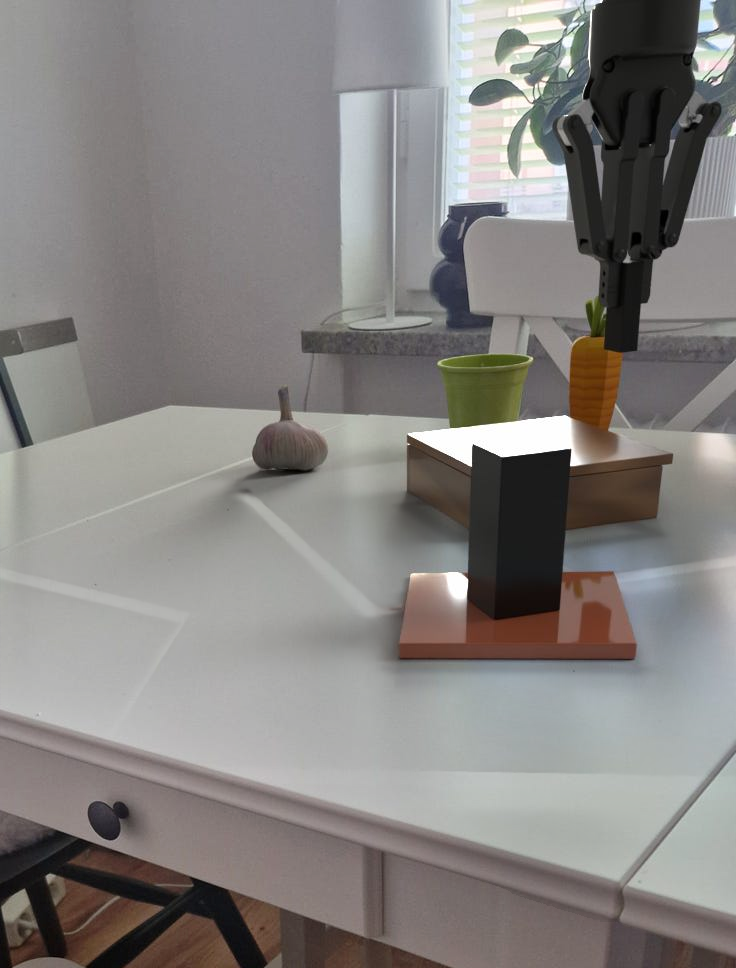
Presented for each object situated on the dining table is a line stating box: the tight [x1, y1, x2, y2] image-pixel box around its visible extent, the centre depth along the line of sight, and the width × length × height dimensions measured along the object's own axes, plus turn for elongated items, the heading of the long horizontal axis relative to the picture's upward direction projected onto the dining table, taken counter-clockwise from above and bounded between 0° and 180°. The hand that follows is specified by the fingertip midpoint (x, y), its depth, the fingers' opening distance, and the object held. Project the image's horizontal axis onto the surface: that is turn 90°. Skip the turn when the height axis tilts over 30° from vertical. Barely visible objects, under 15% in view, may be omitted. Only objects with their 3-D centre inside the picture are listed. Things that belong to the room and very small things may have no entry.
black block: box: [467, 435, 572, 620], centre depth 73 cm, size 4×4×10 cm
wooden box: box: [406, 443, 664, 531], centre depth 97 cm, size 14×18×5 cm
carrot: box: [568, 295, 624, 431], centre depth 108 cm, size 5×5×15 cm
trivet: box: [398, 570, 638, 660], centre depth 76 cm, size 14×14×1 cm
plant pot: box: [436, 353, 534, 429], centre depth 117 cm, size 9×9×9 cm
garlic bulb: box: [251, 384, 329, 471], centre depth 116 cm, size 8×7×8 cm
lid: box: [406, 415, 674, 477], centre depth 96 cm, size 15×18×1 cm
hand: (620, 349), depth 95 cm, fingers closed
